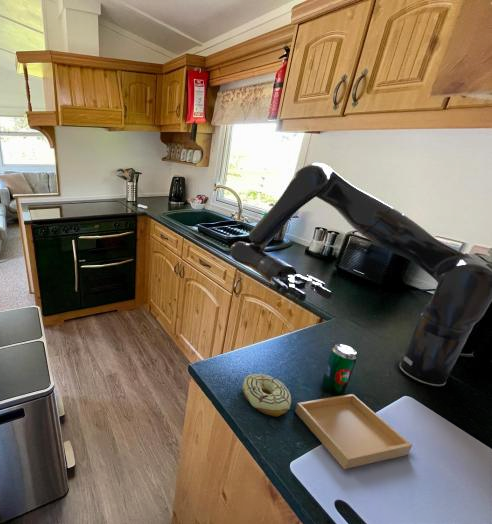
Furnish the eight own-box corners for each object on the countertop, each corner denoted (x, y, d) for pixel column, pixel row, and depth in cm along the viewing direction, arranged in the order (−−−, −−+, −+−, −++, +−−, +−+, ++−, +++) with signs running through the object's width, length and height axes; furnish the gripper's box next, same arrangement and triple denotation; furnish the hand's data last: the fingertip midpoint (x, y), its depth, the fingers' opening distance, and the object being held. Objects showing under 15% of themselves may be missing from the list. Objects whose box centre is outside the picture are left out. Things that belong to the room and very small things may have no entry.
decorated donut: (250, 418, 63) (253, 405, 62) (235, 382, 74) (237, 370, 72) (297, 419, 64) (301, 406, 62) (276, 383, 74) (279, 371, 72)
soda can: (322, 378, 76) (334, 340, 72) (345, 388, 73) (359, 348, 69) (319, 389, 72) (331, 349, 68) (343, 400, 69) (357, 358, 65)
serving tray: (349, 402, 69) (352, 393, 68) (408, 454, 57) (412, 445, 56) (294, 411, 66) (297, 402, 65) (344, 469, 54) (348, 459, 53)
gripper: (259, 261, 87) (299, 286, 72) (297, 259, 90) (343, 282, 76) (253, 283, 89) (291, 311, 75) (290, 280, 93) (333, 307, 79)
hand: (317, 297), depth 76 cm, fingers open, 8 cm apart
